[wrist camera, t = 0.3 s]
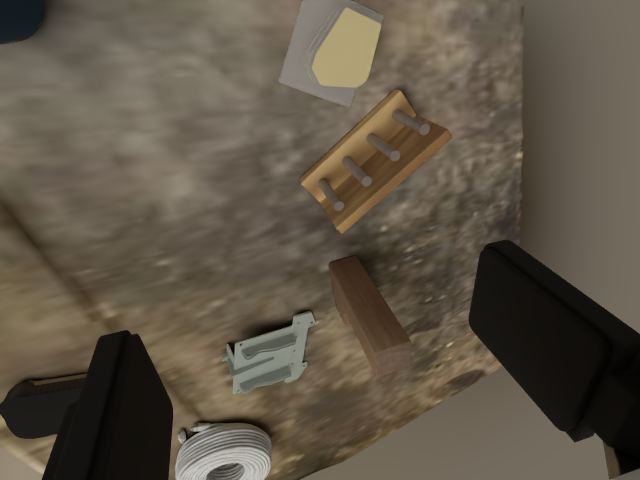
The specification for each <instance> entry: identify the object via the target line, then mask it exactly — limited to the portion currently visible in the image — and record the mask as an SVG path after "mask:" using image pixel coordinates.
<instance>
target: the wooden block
mask: <svg viewBox="0 0 640 480" xmlns="http://www.w3.org/2000/svg"><path fill="white" fill-rule="evenodd" d="M329 270H330V275H331V281H332V286H333V292H334V297H335V302H336V307H337V309H338V311H339V313H340V316H341V318H342V320H343V322H344V323H345V324H348V323H351V325H352V327H353V329H354V331H355V333H356V335H357V337H358V339H359V341H360V344H361V346H362V348H363V350H364V352H365V354H366V356H367V358H368V360H369V362H370V364H371V366H372V368H373V370H374V373H375V375H376V376H377V377H381V376H384V375H386V374H389V373H392V372H395V371H398V370H401V369H404V368H407V367H409V366H411V341H410V339H409V338H408V336H407V334H406V333H405V331H404V330H403V328H402V327H401V325H400V323H399V322H398V320H397V319H396V317H395V316H394V314H393V313H392V311H391V309H390V308H389V306H388V305H387V303H386V302H385V300H384V298H383V297H382V295H381V294H380V292H379V291H378V289H377V287H376V286H375V284H374V283H373V281H372V280H371V278H370V276H369V275H368V273H367V272H366V270H365V269H364V267H363V266H362V264H361V262H360V261H359V259H358V258H357V256H351V257H348V258H345V259H341V260H338V261H335V262H331V263H329Z"/></svg>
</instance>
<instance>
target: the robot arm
mask: <svg viewBox="0 0 640 480" xmlns="http://www.w3.org/2000/svg"><path fill="white" fill-rule="evenodd" d="M469 324H470V327H471V329H472V330H473V332H474V333H475V334H476V335H477V336H478V337H479V339H480V340H481V341H482V342H483V343H484V344H485V346H486V347H487V348H488V349H489V350H490V351H491V353H492V354H493V355H494V356H495V357H496V358H497V359H498V361H499V362H500V363H501V364H502V365H503V366H504V367H505V369H506V370H507V371H508V372H509V373H510V375H511V376H512V377H513V378H514V379H515V380H516V381H517V383H518V384H519V385H520V386H521V387H522V388H523V390H524V391H525V392H526V393H527V394H528V395H529V396H530V398H531V399H532V400H533V401H534V402H535V403H536V404H537V406H538V407H539V408H540V409H541V410H542V412H544V414H545V415H546V416H547V417H548V418H549V420H550V421H551V422H552V423H553V424H554V425H555V426H556V427H557V428H558V429H559V430H561V431H565V432H566V433H567V434H568V435H569V436H570V437H571V439H572V440H573V441H574V442H578V441H580V440H583V439H586V438H589V437H591V436H593V435H594V433H596V434H597V435H598V436H599V437H600V438H601V439H602V440H603V445H604V450H605V457H606V463H607V469H608V475H609V480H640V334H639V333H638V332H636V331H635V330H633V329H632V328H631V327H629V326H628V325H626V324H625V323H624V322H622V321H621V320H620V319H618V318H617V317H615V316H614V315H613V314H611V313H610V312H609V311H607V310H606V309H604V308H603V307H602V306H600V305H599V304H597V303H596V302H595V301H593V300H592V299H590V298H589V297H588V296H586V295H585V294H584V293H582V292H581V291H579V290H578V289H577V288H575V287H574V286H573V285H571V284H570V283H568V282H567V281H566V280H564V279H563V278H561V277H560V276H559V275H557V274H556V273H554V272H553V271H552V270H550V269H549V268H548V267H546V266H545V265H543V264H542V263H541V262H539V261H538V260H537V259H535V258H534V257H532V256H531V255H530V254H528V253H527V252H525V251H524V250H523V249H521V248H520V247H519V246H517V245H516V244H514V243H513V242H512V241H510V240H502V241H498V242H494V243H489V244H487V245H486V246H485V247H484V250H483V251H481V253H480V257H479V262H478V268H477V274H476V279H475V285H474V291H473V296H472V302H471V307H470V313H469ZM172 424H173V407H172V403H171V400H170V398H169V396H168V394H167V392H166V390H165V388H164V386H163V384H162V381H161V379H160V377H159V375H158V373H157V371H156V369H155V367H154V365H153V363H152V361H151V359H150V357H149V355H148V353H147V351H146V348H145V346H144V344H143V342H142V340H141V338H140V336H139V335H138V334H133V335H131V333H130V332H129V331H128V330H124V331H120V332H116V333H112V334H107V335H103V336H101V337H100V338H99V340H98V342H97V345H96V348H95V351H94V354H93V357H92V360H91V363H90V366H89V369H88V372H87V375H86V379H85V382H84V385H83V388H82V391H81V394H80V397H79V400H77V401H74V402H72V403H71V404H70V405H69V406H68V408H67V410H66V412H65V415H64V417H63V420H62V423H61V426H60V429H59V432H58V435H57V437H56V440H55V443H54V446H53V449H52V452H51V454H50V457H49V460H48V463H47V466H46V469H45V472H44V474H43V477H42V480H168V476H169V463H170V450H171V437H172Z"/></svg>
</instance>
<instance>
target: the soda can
mask: <svg viewBox="0 0 640 480" xmlns="http://www.w3.org/2000/svg"><path fill="white" fill-rule="evenodd" d="M41 19H42V3H41V0H0V44H7V43H14V42H19V41H23V40H25V39H27V38H29V37H30V36H31V35H33V34H34V33H35V32H36V30H37V29H38V27H39V25H40V22H41Z"/></svg>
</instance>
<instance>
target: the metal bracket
mask: <svg viewBox="0 0 640 480" xmlns="http://www.w3.org/2000/svg"><path fill="white" fill-rule="evenodd" d="M298 322H299V323H298ZM311 322H312V323H311ZM314 324H315V320H314V317H313V315H312V313H311V312H310V311H308V312H305V313H301V314H298V315H295V316H294V317H293V323H292V325H291V326H289V327H285V328H282V329H279V330H276V331H272V332H269V333H266V334H263V335H259V336H256V337H253V338H249V339H246V340H243V341H240V342H237V343H235V352H234V354H233V352H232V350H231V348H230V346H229V344H227V351H226V355H224V356H222V357H221V358H222V361H224V360H225V361H226V360H227V363H228V367H229V371H230V375H231V377H233V394H237V393H240V392H242V393H244V394H248V393H249V392H250V391H251V390H253V389H254V388H255V387H258V386H265V385H271V384H274V383H276V382H279V381H281V380H284V382H286V383H288V382H290V381H293V380H296V379H298V378H299V377H300V376H301V374H302V372H303V371H304V369H305V368H306V366H307V361H306V362H303V363H302V360H303V355H304V349H305V343H306V337H307V331H308V328H309V327H311V326H313V325H314ZM296 336H297V337H296ZM241 343H242V345H240V344H241ZM303 365H305V366H303ZM238 389H240V390H239V391H237V390H238Z"/></svg>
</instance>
